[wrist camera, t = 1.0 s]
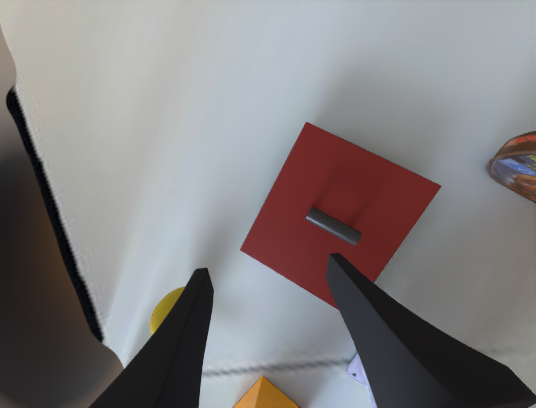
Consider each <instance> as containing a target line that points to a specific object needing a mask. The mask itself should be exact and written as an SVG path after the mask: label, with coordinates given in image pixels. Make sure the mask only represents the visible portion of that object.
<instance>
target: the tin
mask: <svg viewBox="0 0 536 408" xmlns="http://www.w3.org/2000/svg"><path fill="white" fill-rule="evenodd" d="M486 170H487V172H488V174H489V175H490V176H491V177H492V178H493V179H494V180H496V181H497V182H498V183H500V184H502V185H504V186H505V187H507V188H509V189H511V190H513V191H515V192H517V193H518V194H520V195H522V196H524V197H526V198H528V199H529V200H531V201H533V202H535V203H536V131H532V132H528V133H525V134H522V135H519V136H516V137H514V138H512V139H510V140H509V141H508V142H507V143H506V144H505V145H504V146H503V147H502V148H501V149H500V150H499V152H498V153H497V154H496V155H495V157H494V158H493V159H491V160H490V161H489V162H488V163H487V165H486Z"/></svg>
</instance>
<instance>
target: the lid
mask: <svg viewBox="0 0 536 408" xmlns="http://www.w3.org/2000/svg"><path fill="white" fill-rule="evenodd" d="M440 188H441V185H439V184H437V183H434V182H432V181H430V180H428V179H426V178H424V177H422V176H420V175H418V174H415V173H413V172H411V171H409V170H407V169H405V168H403V167H401V166H399V165H396V164H394V163H392V162H390V161H388V160H386V159H384V158H382V157H380V156H378V155H375V154H373V153H371V152H369V151H367V150H365V149H363V148H361V147H359V146H356V145H354V144H352V143H350V142H348V141H346V140H344V139H342V138H340V137H337V136H335V135H333V134H331V133H329V132H327V131H325V130H323V129H321V128H318V127H316V126H314V125H312V124H310V123H308V122H306V123H305V125H304V127H303V129H302V131H301V133H300V135H299V137H298V139H297V140H296V142H295V144H294V146H293V148H292V150H291V152H290V154H289V156H288V158H287V160H286V162H285V164H284V166H283V168H282V169H281V171H280V173H279V175H278V177H277V179H276V181H275V183H274V185H273V187H272V189H271V191H270V193H269V195H268V197H267V198H266V200H265V202H264V204H263V206H262V208H261V210H260V212H259V214H258V216H257V218H256V220H255V222H254V224H253V226H252V227H251V229H250V231H249V233H248V235H247V237H246V239H245V241H244V243H243V245H242V247H241V249H240V250H241V251H242V252H244V253H246V254H247V255H249V256H251V257H252V258H254V259H256V260H257V261H259V262H261V263H262V264H264V265H266V266H267V267H269V268H271V269H272V270H274V271H275V272H277V273H279V274H280V275H282V276H284V277H285V278H287V279H289V280H290V281H292V282H294V283H295V284H297V285H299V286H300V287H302V288H304V289H305V290H307V291H309V292H310V293H312V294H313V295H315V296H317V297H318V298H320V299H322V300H323V301H325V302H327V303H328V304H330V305H332V306H333V307H335V308H337V309H338V307H337V305H336V303H335V301H334V298H333V296H332V294H331V292H330V289H329V286H328V283H327V280H326V277H325V276H326V270H327V265H328V259H329V254H330V253H340V254H341V255H343V256H344V257H345V258H346V259H347V260H348V261H349V262H350V263H351V264H352V265H353V266H355V267H356V268H357V269H358V270H359V271H360V272H361V273H362V274H364V275H365V276H366V277H367V278H368V279H369V280H370V281H372V282H373V283H374V281H375V280H376V279H377V277H378V276H379V274H380V273H381V271H382V270H383V269H384V267H385V266H386V264H387V263H388V262H389V260H390V259H391V257H392V256H393V254H394V253H395V252H396V250H397V249H398V247H399V246H400V244H401V243H402V242H403V240H404V239H405V237H406V236H407V235H408V233H409V232H410V230H411V229H412V227H413V226H414V225H415V223H416V222H417V220H418V219H419V217H420V216H421V215H422V213H423V212H424V210H425V209H426V208H427V206H428V205H429V203H430V202H431V200H432V199H433V198H434V196H435V195H436V193H437V192H438V190H439V189H440ZM338 310H339V309H338Z"/></svg>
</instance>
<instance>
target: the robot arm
mask: <svg viewBox="0 0 536 408" xmlns="http://www.w3.org/2000/svg"><path fill="white" fill-rule="evenodd" d="M325 277H326V280H327V283H328V286H329V289H330V292H331V294H332V296H333V298H334V301H335V303H336V305H337V307H338V309H339V311H340V313H341V315H342V317H343V319H344V322H345V324H346V326H347V328H348V330H349V332H350V334H351V337H352V339H353V341H354V344H355V347H356V349H357V352H358V353H357V354H356V356H355V357H354V359H353V360H352V361H351V363H350V364H349V365H348V367H347V368H346V371H347V374H348V375H350V376H351V377H353V378H354V379H356V380H357V381H359V382H361V383H362V384H364V385H365V386H366V387H367V390H368V394H369V397H370V401H371V404H372V408H528V407H530V406H532V405H534V404H535V403H536V395H535V394H534V393H533V392H532V391H531V390H530V389H529V388H528V387H527V386H526V385H525V384H524V383H523V382H522V381H521V380H520V379H519V378H518V377H517V376H516V375H515V374H514V372H513V371H512V370H510V369H509V368H508V367H507V366H505V365H503V364H501V363H499V362H498V361H496V360H494V359H492V358H490V357H488V356H486V355H484V354H482V353H480V352H478V351H476V350H474V349H472V348H471V347H469V346H467V345H465V344H463V343H462V342H460V341H458V340H456V339H455V338H453V337H451V336H449V335H448V334H446V333H444V332H443V331H441V330H439V329H438V328H436V327H434V326H433V325H431V324H430V323H428V322H426V321H425V320H423V319H422V318H420V317H419V316H417V315H416V314H414V313H413V312H411V311H410V310H408V309H407V308H405V307H404V306H403V305H401V304H400V303H398V302H397V301H396V300H394V299H393V298H391V297H390V296H389V295H388V294H386V293H385V292H384V291H383V290H381V289H380V288H379V287H378V286H376V285H375V284H374V283H373V282H372V281H370V280H369V279H368V278H367V277H366V276H365V275H364V274H362V273H361V272H360V271H359V270H358V269H357V268H356V267H355V266H353V265H352V264H351V263H350V262H349V261H348V260H347V259H346V258H345V257H344V256H343V255H341V254H340V253H330V254H329V259H328V265H327V270H326V276H325ZM213 294H214V290H213V286H212V283H211V279H210V275H209V272H208V268H199V269H196V270H195V271H194V273H193V275H192V276H191V278H190V280H189V282H188V283H187V285H186V287H185V288H184V290H183V292H182V293H181V295H180V296H179V298H178V299H177V301H176V303H175V304H174V306H173V307H172V309H171V310H170V312H169V313H168V314H167V316H166V317H165V319H164V320H163V321H162V323H161V324H160V326H159V327H158V328H157V330H156V331H155V332H154V334H153V335H152V336H151V338H150V339H149V340H148V341H147V343H146V344H145V345H144V346H143V348H142V349H141V350H140V351H139V352H138V354H137V355H136V356H135V357H134V358H133V360H132V361H131V362H130V363H129V364H128V365H127V367H126V368H125V369H124V370H123V371H122V372H121V374H120V375H119V376H118V377H117V378H116V379H115V380H114V381H113V382H112V383H111V384H110V385H109V386H108V387H107V389H106V390H105V391H104V392H103V393H102V394H101V395H100V396H99V397H98V398H97V399H96V400H95V401H94V402H93V403H92V404H91V405H90V406H89V407H88V408H198V407H199V396H200V385H201V375H202V366H203V359H204V352H205V347H206V341H207V336H208V331H209V325H210V320H211V314H212V307H213ZM353 373H355V374H353Z"/></svg>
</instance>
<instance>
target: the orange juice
mask: <svg viewBox="0 0 536 408" xmlns="http://www.w3.org/2000/svg"><path fill="white" fill-rule="evenodd" d="M233 408H300V407H298V406H297V405H296V404H295V403H294V402H293V401H292V400H290V399H289V398H288V397H287V396H286V395H285V394H283V393H282V392H281V391H280V390H279V389H278V388H277V387H275V386H274V385H273V384H272V383H271V382H270V381H268V380H267V379H266V378H265V377H264V376H262V377H261V378H260V379H259V380H258V381H257V382H256V383H255V384H254V385H253V386H252V388H251V389H250V390H249V391H248V392H247V393H246V394H245V395H244V396H243V397H242V399H241V400H240V401H239V402H238V403H237V404H236V405H235V406H234V407H233Z"/></svg>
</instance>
